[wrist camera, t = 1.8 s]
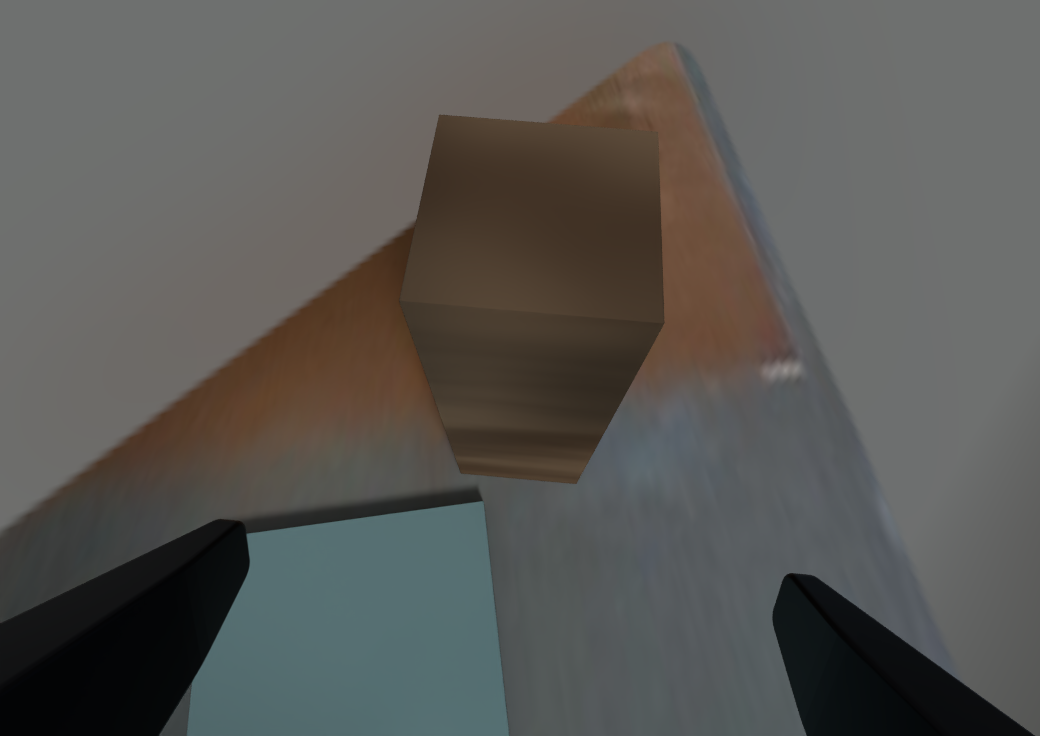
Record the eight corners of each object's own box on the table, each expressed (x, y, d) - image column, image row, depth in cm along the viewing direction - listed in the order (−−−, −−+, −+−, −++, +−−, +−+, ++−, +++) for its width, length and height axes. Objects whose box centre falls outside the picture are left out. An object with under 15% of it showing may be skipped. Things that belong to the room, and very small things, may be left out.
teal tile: (520, 833, 17) (520, 841, 17) (180, 897, 17) (168, 907, 16) (484, 503, 22) (483, 501, 21) (215, 541, 21) (207, 539, 21)
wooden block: (576, 483, 22) (664, 323, 10) (460, 473, 23) (399, 300, 10) (580, 378, 25) (657, 131, 12) (474, 368, 25) (439, 114, 12)
